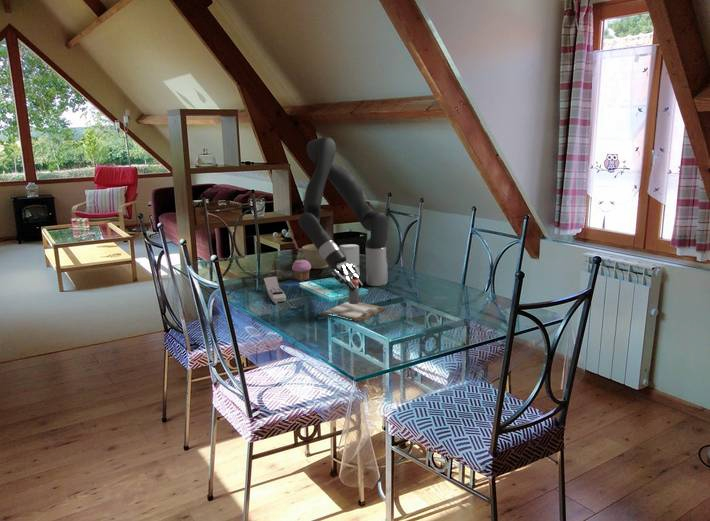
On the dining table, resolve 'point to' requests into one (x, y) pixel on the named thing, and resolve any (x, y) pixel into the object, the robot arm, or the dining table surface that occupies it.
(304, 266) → the cupcake
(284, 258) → the dining table surface
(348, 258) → the skincare box
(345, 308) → the clipboard
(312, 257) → the planter bowl
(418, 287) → the dining table surface
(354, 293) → the grey and red cylinder
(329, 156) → the robot arm
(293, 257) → the dining table surface
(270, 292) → the mobile phone
